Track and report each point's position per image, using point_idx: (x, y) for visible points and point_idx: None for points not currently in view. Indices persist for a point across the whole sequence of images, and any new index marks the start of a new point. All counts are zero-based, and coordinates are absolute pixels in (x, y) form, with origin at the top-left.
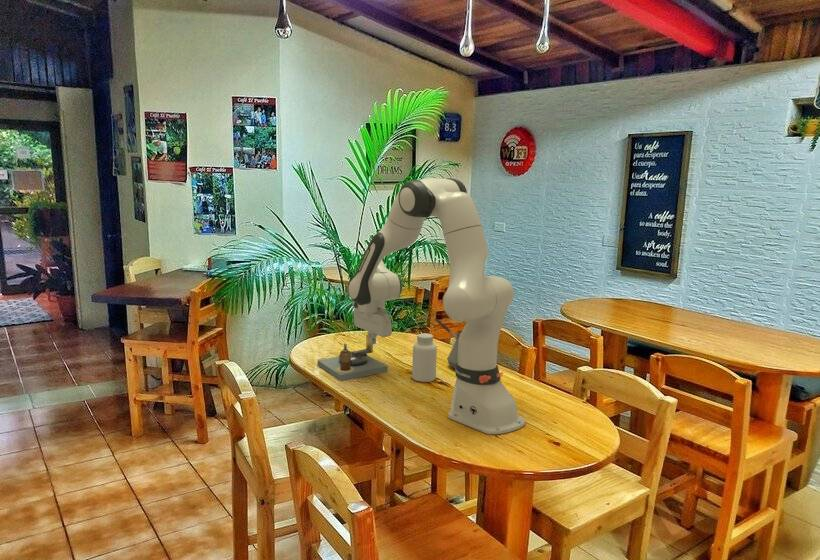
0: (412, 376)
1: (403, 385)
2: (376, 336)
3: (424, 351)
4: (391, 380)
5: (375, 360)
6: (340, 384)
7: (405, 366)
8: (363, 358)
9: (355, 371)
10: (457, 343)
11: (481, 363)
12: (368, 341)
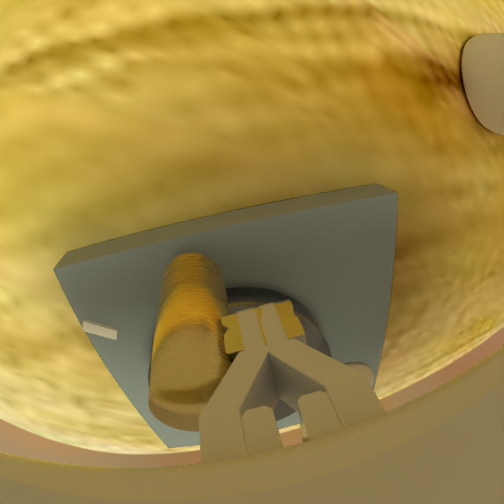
0: (491, 129)
1: (499, 194)
2: (333, 361)
3: None
4: (459, 214)
5: (265, 230)
6: (384, 381)
7: (339, 40)
8: (322, 343)
9: (373, 358)
10: None
11: None
12: None
